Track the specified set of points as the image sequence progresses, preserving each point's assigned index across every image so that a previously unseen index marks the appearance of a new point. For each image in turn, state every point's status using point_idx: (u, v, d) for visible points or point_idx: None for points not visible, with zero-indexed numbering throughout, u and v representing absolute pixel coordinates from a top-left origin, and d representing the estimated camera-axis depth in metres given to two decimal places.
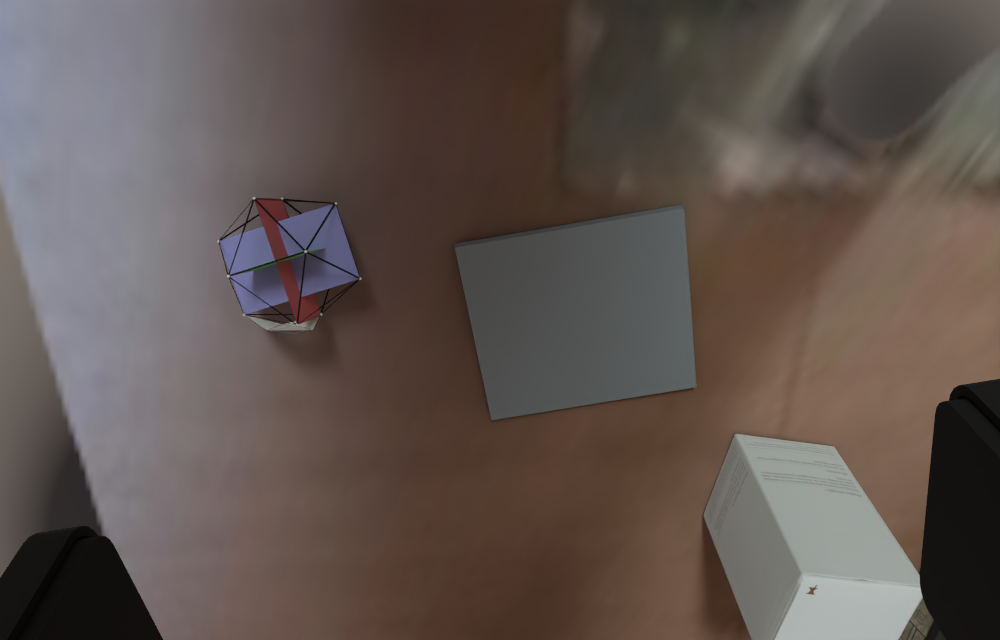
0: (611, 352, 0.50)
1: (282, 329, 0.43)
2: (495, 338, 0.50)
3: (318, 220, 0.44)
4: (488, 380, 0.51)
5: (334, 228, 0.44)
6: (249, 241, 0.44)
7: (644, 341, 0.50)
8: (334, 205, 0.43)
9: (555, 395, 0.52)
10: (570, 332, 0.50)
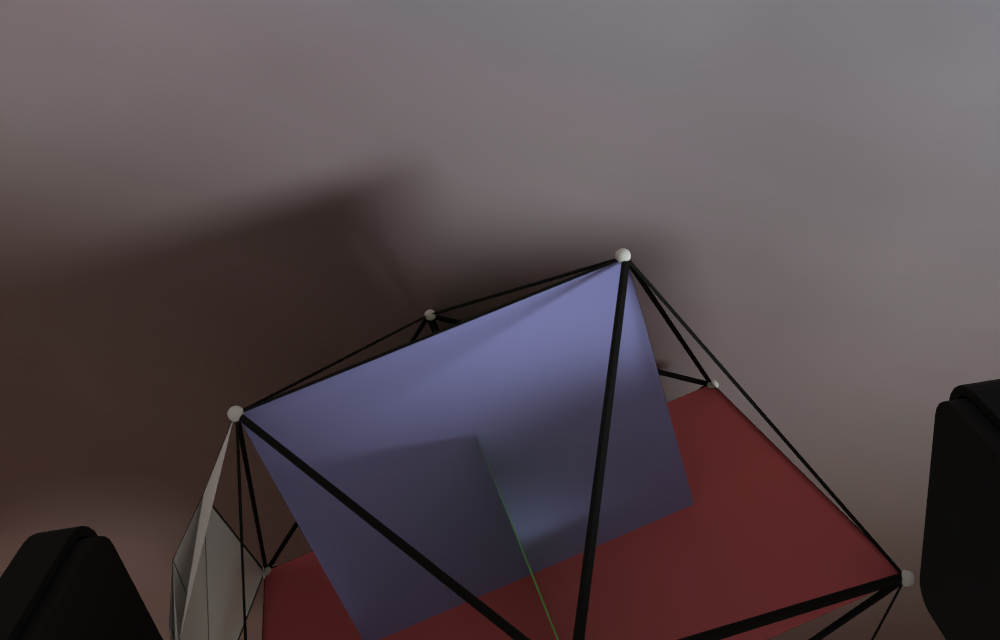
0: None
1: None
2: None
3: None
4: None
5: None
6: (617, 403, 0.09)
7: None
8: None
9: None
10: None
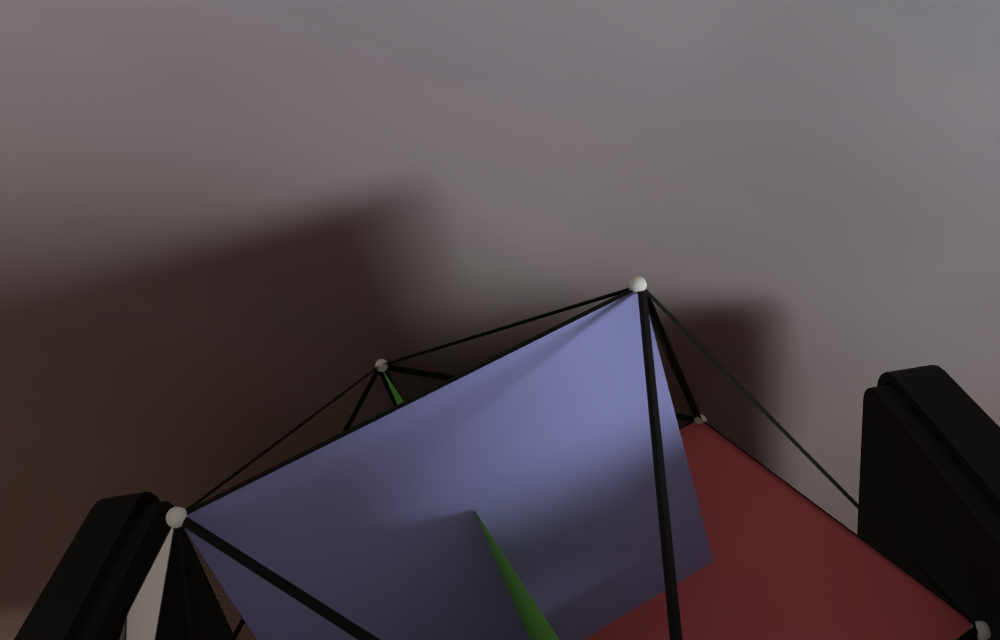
0: None
1: None
2: None
3: None
4: None
5: None
6: (632, 457, 0.08)
7: None
8: None
9: None
10: None
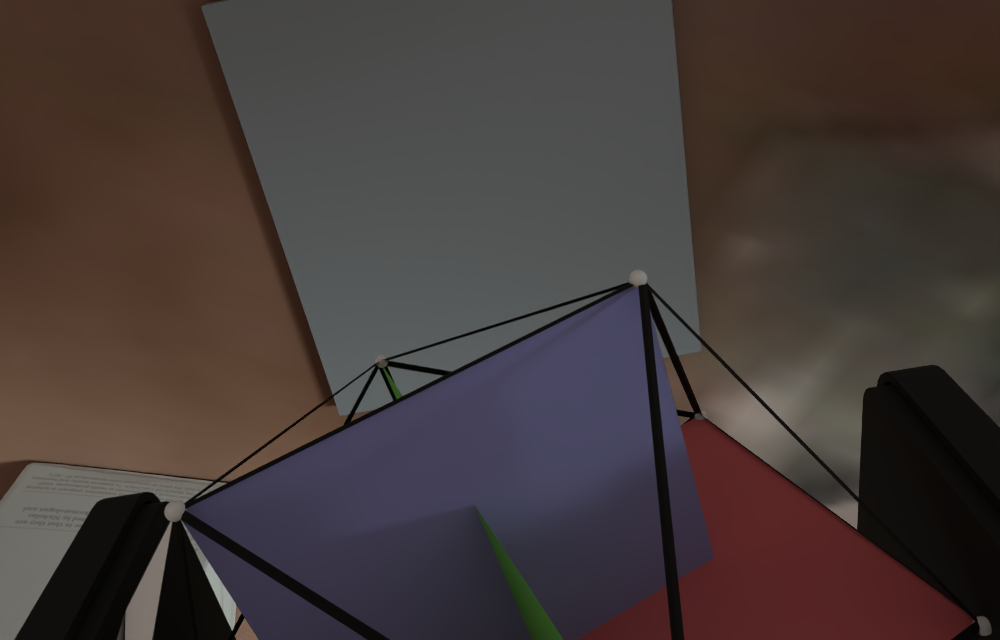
0: (406, 260, 0.25)
1: None
2: (431, 12, 0.22)
3: None
4: None
5: None
6: (632, 451, 0.08)
7: (436, 317, 0.26)
8: None
9: (291, 155, 0.23)
10: (452, 177, 0.24)
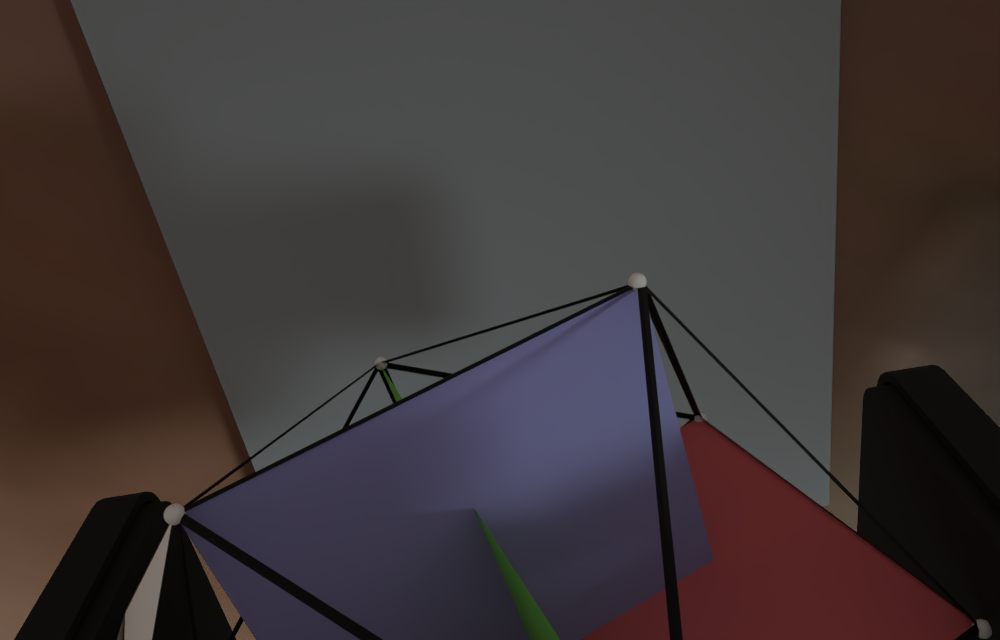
0: (400, 377, 0.16)
1: None
2: None
3: None
4: None
5: None
6: (632, 454, 0.08)
7: None
8: None
9: (220, 222, 0.15)
10: (472, 258, 0.15)
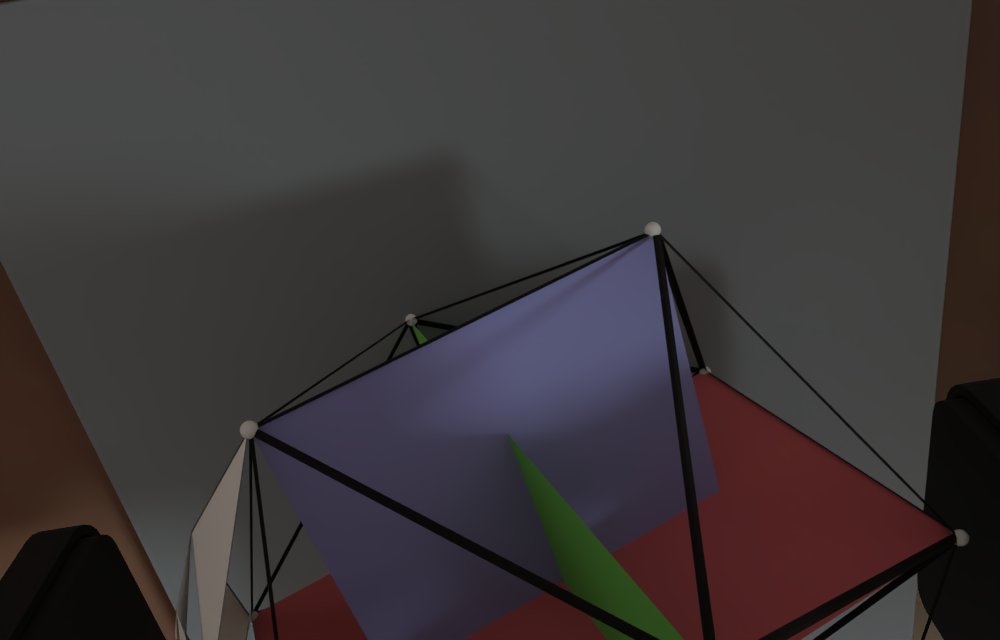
0: None
1: None
2: (425, 49, 0.09)
3: None
4: (157, 10, 0.09)
5: None
6: (647, 388, 0.09)
7: None
8: None
9: (125, 341, 0.11)
10: None
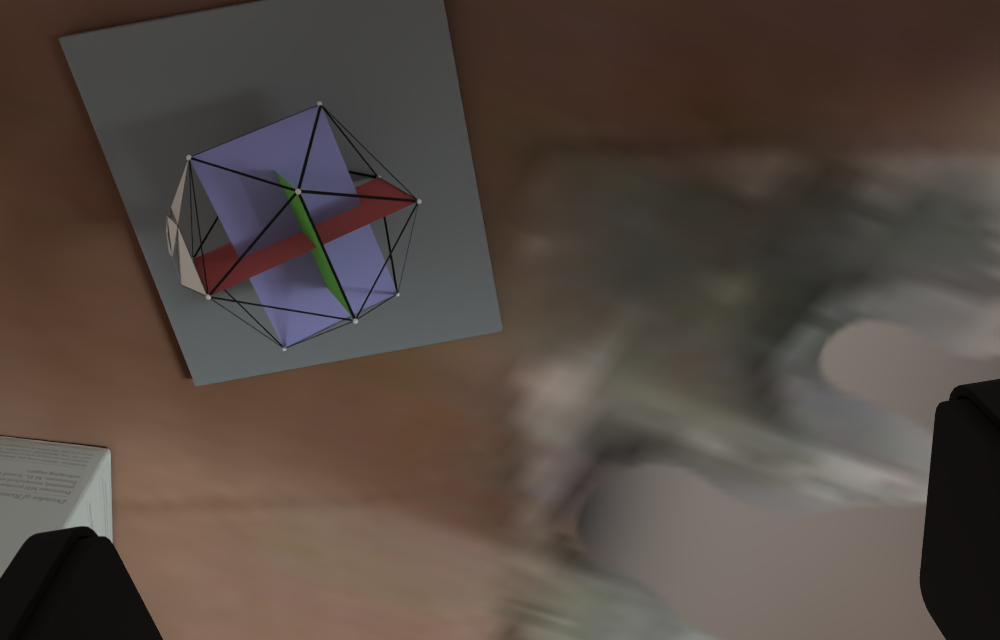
0: None
1: (184, 253, 0.24)
2: (253, 46, 0.26)
3: (368, 271, 0.27)
4: (156, 32, 0.26)
5: (359, 297, 0.27)
6: (325, 160, 0.26)
7: None
8: (395, 294, 0.28)
9: (141, 162, 0.28)
10: None
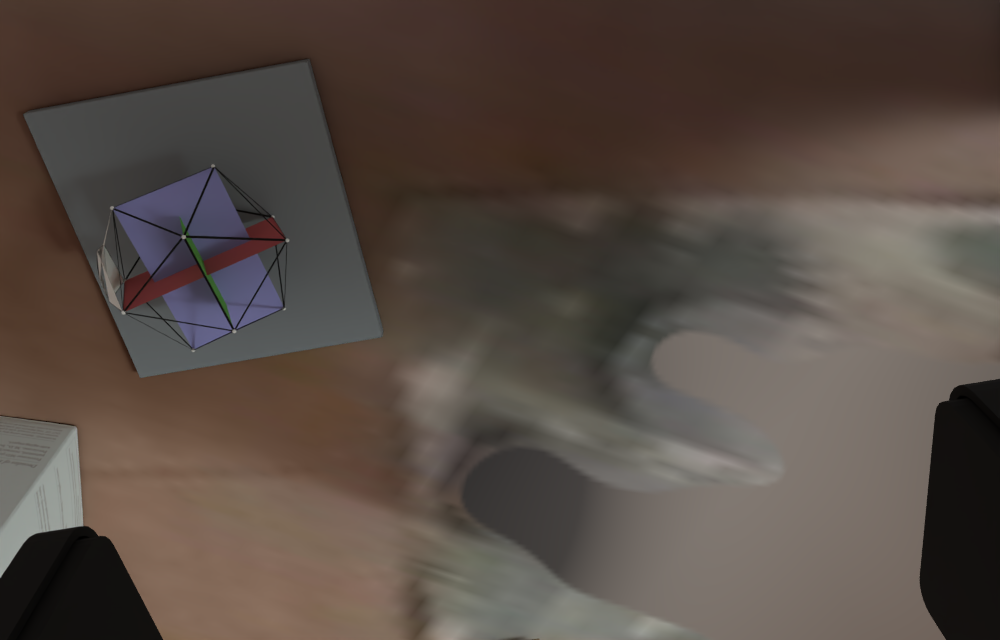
0: None
1: (107, 280, 0.32)
2: (169, 119, 0.34)
3: (259, 291, 0.35)
4: (96, 109, 0.34)
5: (253, 310, 0.36)
6: (219, 207, 0.34)
7: None
8: (281, 309, 0.36)
9: (89, 205, 0.36)
10: None
